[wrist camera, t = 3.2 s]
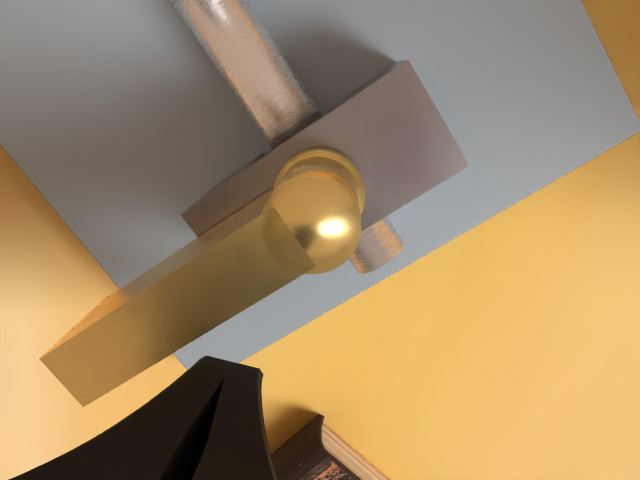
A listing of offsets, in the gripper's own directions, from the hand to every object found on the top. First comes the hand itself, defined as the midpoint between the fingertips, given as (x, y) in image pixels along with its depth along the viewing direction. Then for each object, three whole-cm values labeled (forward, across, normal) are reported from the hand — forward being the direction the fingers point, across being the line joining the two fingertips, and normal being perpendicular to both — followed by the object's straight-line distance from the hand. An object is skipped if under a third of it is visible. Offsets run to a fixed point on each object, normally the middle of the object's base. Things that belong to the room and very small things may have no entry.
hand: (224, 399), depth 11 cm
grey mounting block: (+5, -1, -5) cm, 7 cm away
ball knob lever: (+1, +1, -3) cm, 3 cm away
